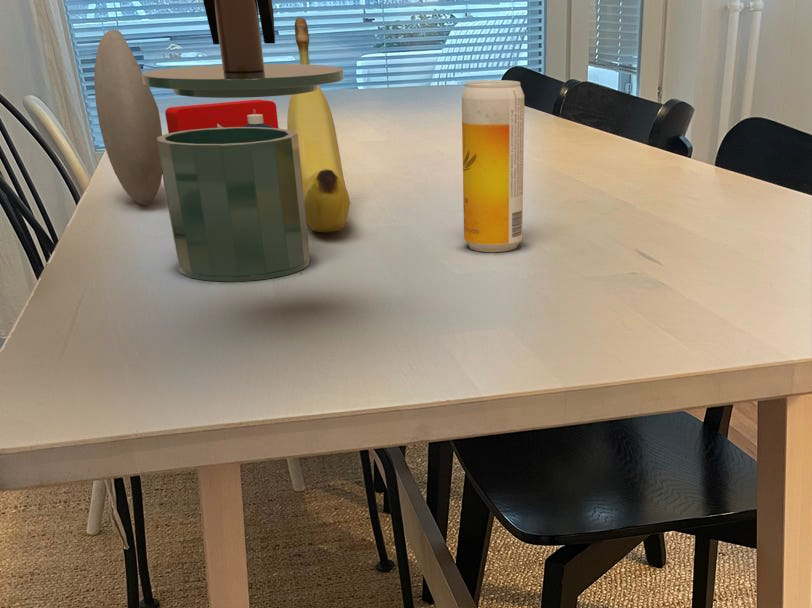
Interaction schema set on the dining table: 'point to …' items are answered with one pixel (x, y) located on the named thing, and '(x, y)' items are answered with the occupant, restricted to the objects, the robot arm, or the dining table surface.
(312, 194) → the banana
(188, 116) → the play button
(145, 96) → the grey-brown flattened oval
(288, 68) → the jar lid
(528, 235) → the dining table surface
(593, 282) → the dining table surface
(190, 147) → the storage jar
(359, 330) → the dining table surface
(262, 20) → the robot arm
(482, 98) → the beer can
